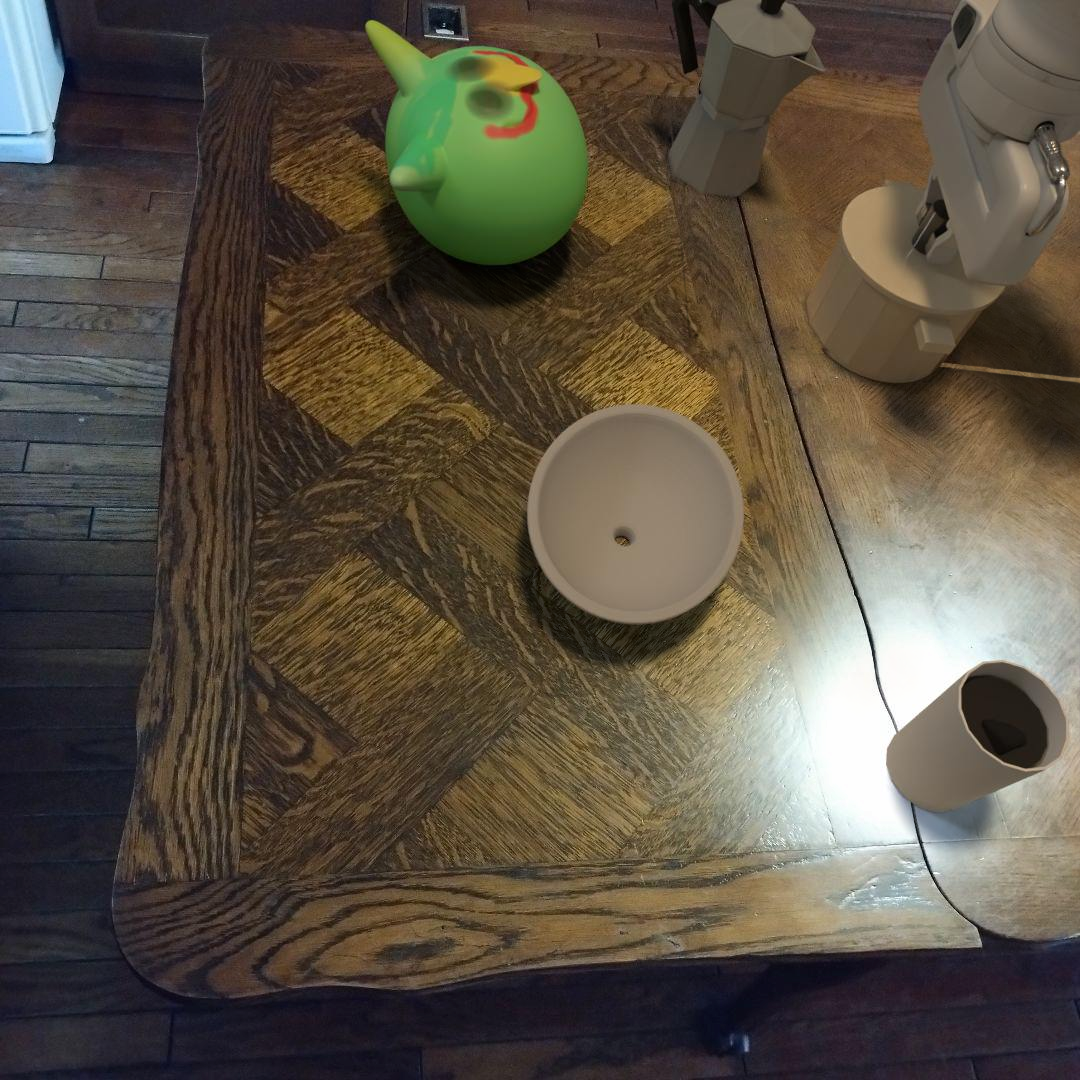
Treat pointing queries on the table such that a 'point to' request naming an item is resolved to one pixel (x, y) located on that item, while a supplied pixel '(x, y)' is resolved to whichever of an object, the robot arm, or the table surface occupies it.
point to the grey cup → (979, 737)
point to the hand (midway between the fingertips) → (929, 240)
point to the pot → (878, 324)
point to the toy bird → (481, 150)
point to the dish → (635, 514)
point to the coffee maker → (737, 87)
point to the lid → (908, 253)
